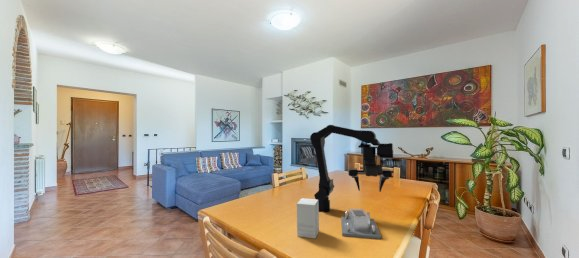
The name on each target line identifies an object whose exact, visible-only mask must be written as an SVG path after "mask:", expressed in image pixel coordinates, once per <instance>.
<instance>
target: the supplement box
mask: <svg viewBox="0 0 579 258" xmlns="http://www.w3.org/2000/svg"><path fill="white" fill-rule="evenodd" d="M319 212H320V211H319V202H318V200H317V199H315V198H303V197H301V198H300V199H299V200H298V202H297V203H296V232H297V233H296V235H297V237H301V238H310V239H313V240H314V239H315V240H316V238H317V236H318V234H319V232H320V223H319V222H320V217H319V216H320V215H319V214H320V213H319Z"/></svg>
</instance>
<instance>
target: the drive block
mask: <svg viewBox="0 0 579 258" xmlns="http://www.w3.org/2000/svg"><path fill="white" fill-rule="evenodd" d="M348 217H349V221H350V223H351V225H352V227H353V229H354V231H370V219H371V216H370V217H369V216H368V215H367V212H366V211H365V210H364V209H363V208H349V209H348Z"/></svg>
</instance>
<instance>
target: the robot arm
mask: <svg viewBox="0 0 579 258" xmlns="http://www.w3.org/2000/svg"><path fill="white" fill-rule="evenodd" d="M331 134H337V135H340V136H345V137H350V138H354V139H357V140H358V141H361V143H360V144H359V145H358V148H360V149H362V169H357V168H356V167H354V168H353V167H349V168H348V170H347V171H348V173H347V174H348V176H349V177H351V178H353V179H354V181H355V184H356V187H357V190H358V192H359V191H360V189H361V188H360V181H359V180H360V179H359V176H358V175H365V176H366V177H378V175H379V181H378V182H379V184H378V185H379V186H378V191H379V192H382V188H383V186H384V184H385V182H386V181H387V180H389V179H390V178H393V172H392V170H390V169H388V168H384V169H383V165H382V164H377V159H376V158H377V157H379V159H393V160H394V147H393V146H394V144H393V143H380V141H379V140H378V139H377V134H376V133H375V132H374V131H373V130H361V129H360V130H359V129H353V128H348V127H344V126H342V127H341V126H337V125H335V124H328V125H326V126H325V127H323V128H322V129H321V130H318V131H316V132H313V133H311V135H310V138H309V139H310V142H311V145H312V147H313V149H314V152H315V158H316V163H317V169H318V176H319V181H318V190H317V192H316V193H315V194H314V195H313V196H314V199H317V200H318V202H319V212H322V213H323V212H325V213H326V212H327V213H328V212H329V211H330V209H331V200H330V194H332V193H333V191H334V188H335V185H334V184H335V183H334V179H333V178H332V179H331V177H329V171H328V167H327V166H328V165H327V159H326V154H325V153H326V152H325V145H326V138H328V137H329V136H330V135H331Z"/></svg>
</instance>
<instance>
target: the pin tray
mask: <svg viewBox="0 0 579 258" xmlns="http://www.w3.org/2000/svg"><path fill="white" fill-rule="evenodd" d="M344 213H345V214H344V215H345V216H340V219H341V235H342V236H343V237H350V238H351V237H352V238H362V239H363V238H364V239H375V240H376V239H377V240H382V235H381V232H380V230H379V228H378V226H377V223H376V221H375V219H374V218H371V213H370V212H366V214H367V215H368V216H369V217H370V231H354V229H353V227H352V225H351V223H350V221H349V210H348V211H347V210H346V211H345V212H344Z"/></svg>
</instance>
